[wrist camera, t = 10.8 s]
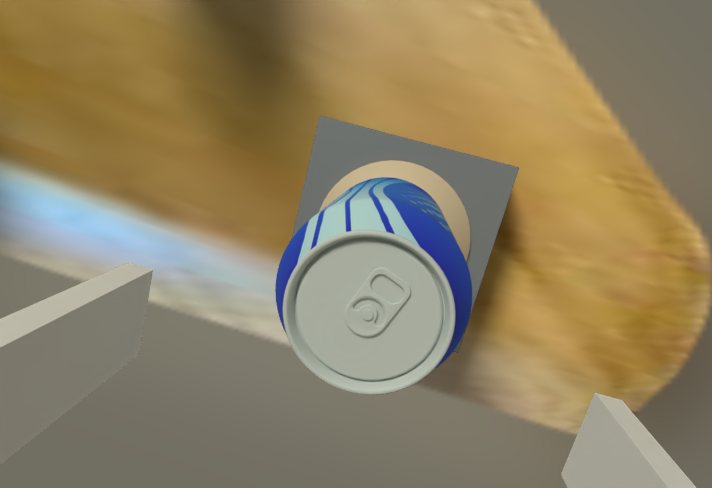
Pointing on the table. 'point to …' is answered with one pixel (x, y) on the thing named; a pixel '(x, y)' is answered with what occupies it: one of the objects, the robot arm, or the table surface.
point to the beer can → (374, 288)
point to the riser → (421, 167)
